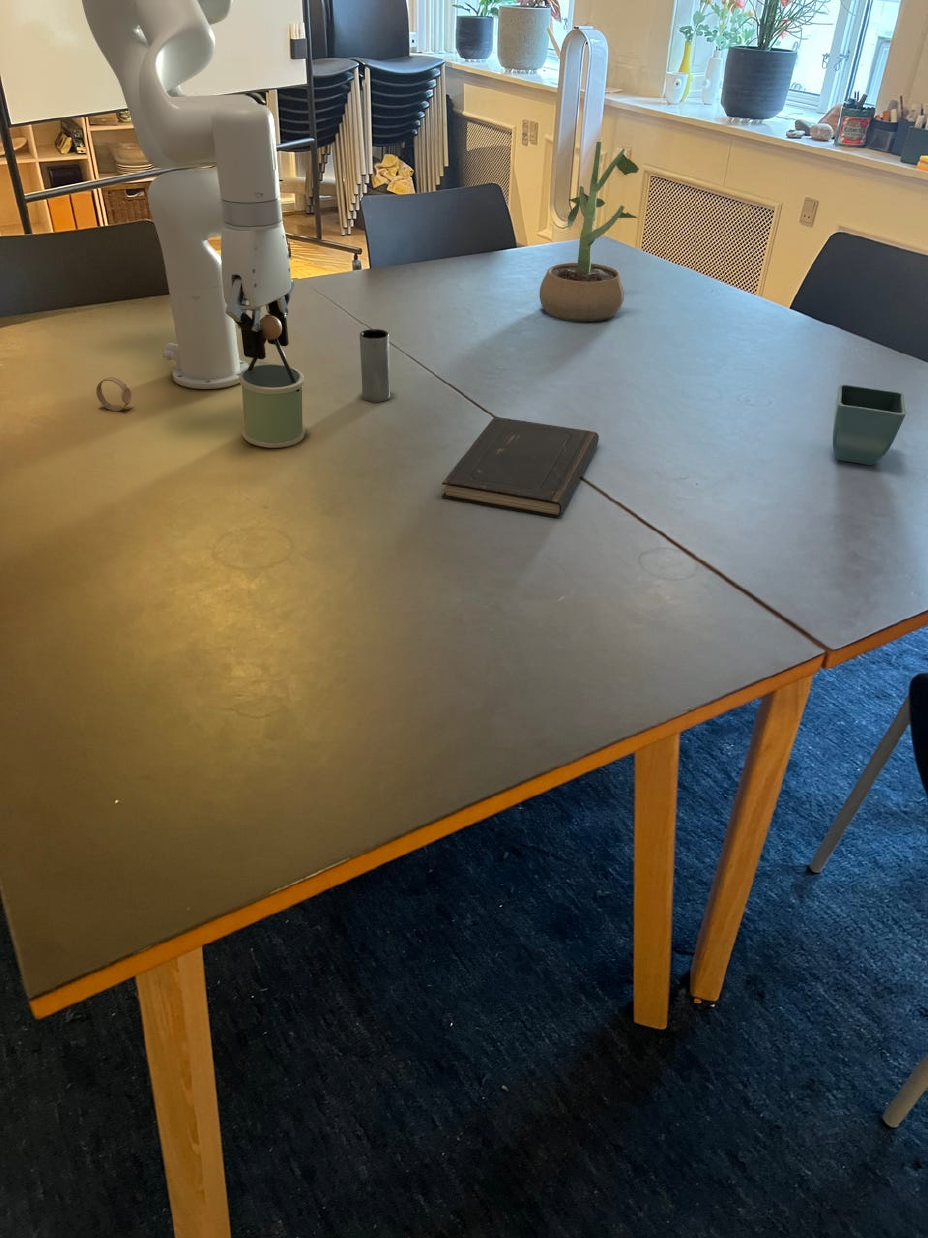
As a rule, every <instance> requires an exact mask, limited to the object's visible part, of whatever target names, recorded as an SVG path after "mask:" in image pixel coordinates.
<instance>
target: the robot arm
mask: <svg viewBox="0 0 928 1238" xmlns="http://www.w3.org/2000/svg"><path fill="white" fill-rule="evenodd" d="M233 2H234V0H81V4H82V8H83V12H84V16H85V19H86V22H87V24H88V27H89V29H90V32H91V34H92V37H93V39H94V40H95V43H96V44H97V47H98V48H99V50H100V52H101V53H102V55H103V56H104V58H105V59H106V60H105V61H106V62H107V63H108V65H109V66H110V68H111V69H112V71H113V73H114V75H115V77H116V79H117V81H118V84H119V86H120V89H121V92H122V95H123V99H124V102H125V104H126V108H127V111H128V114H129V117H130V120H131V124H132V126H133V129H134V132H135V135H136V138H137V141H138V144H139V147H140V149H141V151H142V154H143V156H144V157H145V160H146V161H147V162H148V163H149V164H150V165H151V166H152V167H155V168H157V169H166V170H171V169H179V170H172V171H168V172H164V173H162V174H160V175H157V176H156V177H155V178H154V179H153V180H152V181H151V182H150V184H149V186H148V188H147V202H148V206H149V211H150V215H151V218H152V221H153V224H154V228H155V230H156V233H157V236H158V240H159V245H160V249H161V254H162V258H163V263H164V268H165V269H164V270H165V275H166V281H167V287H168V294H169V299H170V306H171V313H172V319H173V325H174V331H175V338H176V343H171V342H168V343H166V345H165V347H164V348H165V349H164V350H163V352H162V358H163V359H166V360H170V361H171V360H172V361H174V364H175V367H174V368H173V369H172V379H173V381H174V382H175V383H176V384H178V385H180V386H182V387H185V388H189V389H198V390H215V389H224V388H228V387H232V386H235V385H237V384H240V380H239V375H240V373H241V371H242V370H244V369H246V368H248V367H249V365H250V364H248V363H247V362H246V361H244V360H241V359H240V355H239V348H238V338H237V330H236V327H237V328H238V329H239V330H240V332H241V342H242V351H243V356H244V357H246V358H250V359H253V358H255V359H257V360H261V361H262V360H264V359H266V357H267V355H266V354H267V353H266V343H265V344H264V335H263V330H261V329H259V328H260V320H261V310H262V309H261V308H262V307H264V306H265V309H266V313H267V314H265V315H264V316H268V315H271V316H274V317H276V318H278V319H279V321H280V322H281V325H282V332H281V334H280V335H279V337H277V339H278V341H279V343H280V346H281V347H287V346H289V344H290V343H289V331H288V320H287V317H288V315H289V307H288V305H289V302H290V298H291V294H292V292H293V290H294V286H295V283H294V280H293V279H292V272H291V271H292V270H291V262H290V254H289V247H288V241H287V236H286V232H285V227H284V221H283V208H282V199H281V190H280V189H281V188H280V177H279V165H278V154H277V145H276V144H277V142H276V141H277V140H276V131H275V129H276V128H275V121H274V116H273V114H272V111H271V110H270V109H269V107H267V106H266V105H263V104H260V103H258V102H257V101H256V100H255V99H254V98H253V97H251V96H249V95H246V94H219V95H216V94H209V95H208V94H206V95H190V96H189V95H188V96H187V95H186V94H185V93H184V92H183V90H182V88H181V85H182V84H184V83H186V82H187V81H189V80H190V79H192V78H194V77H196V76H197V75H199V74H200V73H201V72H203V71H204V70H205V69H206V68H207V67H208V66H209V64H210V62H211V61H212V60H213V57H214V55H215V52H216V38H215V34H214V31H213V29H212V28H211V27H212V26H211V25H215V24H218V23H220V22H223V21H224V20H225V19H226V18H227V17H228V16H229V15H230V13H231V10H232V8H233ZM139 30H141V32H142V33H141V32H140V31H139ZM200 167H203V168H200ZM204 167H208V168H204ZM188 168H192V169H188ZM216 237H220V253H219V252H217V251H218V250H216V249H215V248H214V247H212V245H210V243H209V239H211V238H216ZM247 302H248V304H247ZM247 311H251V317H250V315H249V314H248V313H247ZM266 342H267V343H268V344H269V345H275V343H274V341H273V340H269V339H267V340H266ZM275 346H276V345H275Z"/></svg>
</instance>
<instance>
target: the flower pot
mask: <svg viewBox="0 0 928 1238" xmlns="http://www.w3.org/2000/svg"><path fill="white" fill-rule="evenodd" d="M905 406H906V404H905V394H904V393H903V392H901V391H894V390H888V389H879V388H873V387H866V386H859V385H852V384H843V383H840V384H839V385H838V390H837V395H836V402H835V407H834V414H833V427H832V429H833V430H832V448H833V452H834V456H835V459H836V460H838V461H843V462H849V463H854V464H861V465H867V466H874V465H875V464H876V463H878V462H879V461H880V460H881V459H883V457H884V456H885V455H886V454H887V453H888V451H889V450H890V449H891V447H892V445H893V443H894V441H895V439H896V437H897V435H898V433H899V431H900V428H901V426H902V424H903V421H904V419H905V417H906V415H907V412H906V407H905Z"/></svg>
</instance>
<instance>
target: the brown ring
mask: <svg viewBox="0 0 928 1238" xmlns="http://www.w3.org/2000/svg"><path fill="white" fill-rule="evenodd" d="M104 382H113V383H114V384H116V385H117V386H118V387H119V388H120V390H121V395H120V398H121V401H122V402H123V404H124V405H123V406H114V405H113V404H111V403H109V402H108V401H107V400H106V398H105V395H104V394H103V389H102V385H103V383H104ZM95 392H96V397H97V399H98V401H99V403H100V404H101V405H102V406H103V407H104V408H106V409H108V410H109V411H112V412H120V411H123V410H124V409H125V408H126V407H127V406H128V405H129V404H130V403H131V399H132V391H131V389H130V387H128V385H127V384H126V383H125V382H124V381H122V380H120V378H117V377H114V376H113V377H112V376H109V377H106V378H104V379H102V380H101V381H99V382H98V384H97V386H96V391H95Z"/></svg>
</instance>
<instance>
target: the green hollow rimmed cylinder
mask: <svg viewBox="0 0 928 1238" xmlns="http://www.w3.org/2000/svg"><path fill="white" fill-rule="evenodd" d="M267 315H268V316H265V315H264V316H263V317H261V318H260V328H259V329H261V330H263V335H264V344H265V345H266V342H267V339H269V340H273V341H274V343H275V347H276V350H277V352H278V355H279V356H280V359H281V361H282V363H283V364H281V363H259V364H256V363H257V361H258V359H255V358H251V361H250V363H249V364H248V365H249V367H248V368H246V369H244V370H242V371H241V373H240V375H239V380H240V383H239V384H240V386H241V391H242V393H241V394H242V412H243V427H242V429H241V430H242V431H241V432H242V437H243V439H244V440H245V441H246V442H248V443H250V444H252V445H255V446H257V447H262V448H269V449H270V448H271V449H278V448H279V449H280V448H287V447H290V446H294V445H297V444H298V443H301V441H302V440H303V439H304V438H305V436H306V435H305V433H306V431H305V427H304V425H303V385H304V383H305V376H304V374H303V372H302V371H300V370H299V369H297V368H295V367H293V366H290V364H289V362H288V360H287V359H288V358H287V357H286V355H285V352H284V350H283V348H282V346H280V343H279V341H278V339H277V337H279V335H280V334H281V332H282V325H281V322H280V321H279V319H278V318H276V317H274V316H271V315H270V314H267Z"/></svg>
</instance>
